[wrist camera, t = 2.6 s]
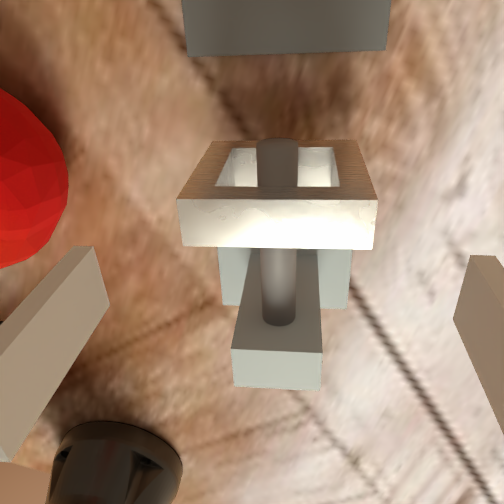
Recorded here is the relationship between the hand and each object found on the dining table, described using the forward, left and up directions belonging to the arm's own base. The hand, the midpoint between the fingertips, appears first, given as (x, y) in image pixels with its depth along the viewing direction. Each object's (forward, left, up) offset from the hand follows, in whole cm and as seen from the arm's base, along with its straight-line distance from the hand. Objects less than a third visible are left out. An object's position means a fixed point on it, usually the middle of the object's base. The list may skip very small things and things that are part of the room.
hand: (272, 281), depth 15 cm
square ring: (0, 0, -14) cm, 14 cm away
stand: (0, -5, -16) cm, 17 cm away
